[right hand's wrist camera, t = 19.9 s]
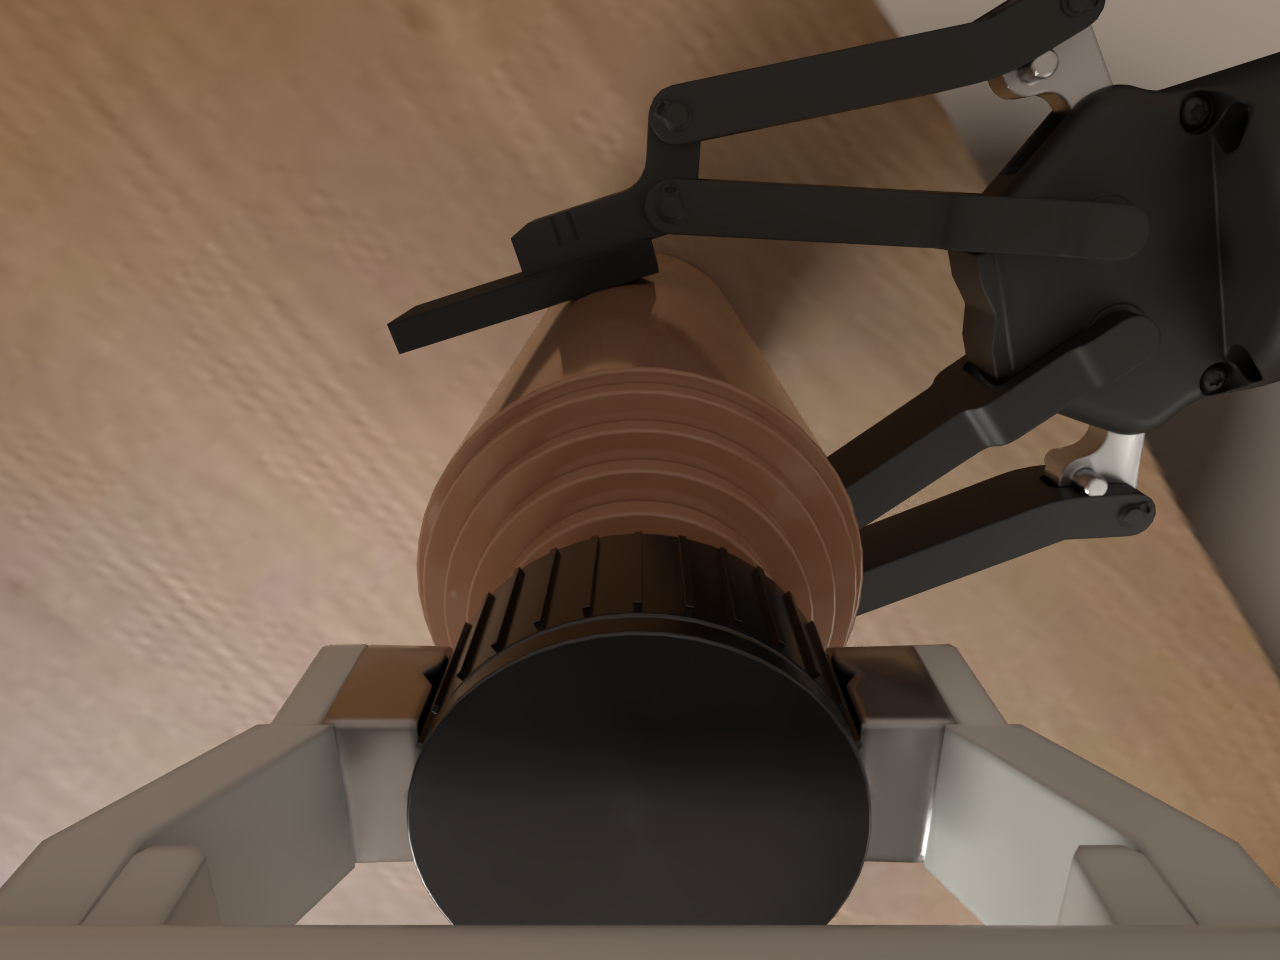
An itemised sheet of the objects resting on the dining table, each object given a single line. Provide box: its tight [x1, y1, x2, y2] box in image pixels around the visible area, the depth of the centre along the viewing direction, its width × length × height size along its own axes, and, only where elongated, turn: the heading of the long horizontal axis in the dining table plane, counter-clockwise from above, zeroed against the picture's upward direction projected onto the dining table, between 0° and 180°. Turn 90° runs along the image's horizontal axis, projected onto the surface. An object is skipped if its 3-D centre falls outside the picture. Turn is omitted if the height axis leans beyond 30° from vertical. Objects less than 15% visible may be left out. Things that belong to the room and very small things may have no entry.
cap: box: [406, 532, 872, 925], centre depth 9 cm, size 5×5×2 cm
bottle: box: [417, 253, 863, 650], centre depth 18 cm, size 7×7×21 cm
